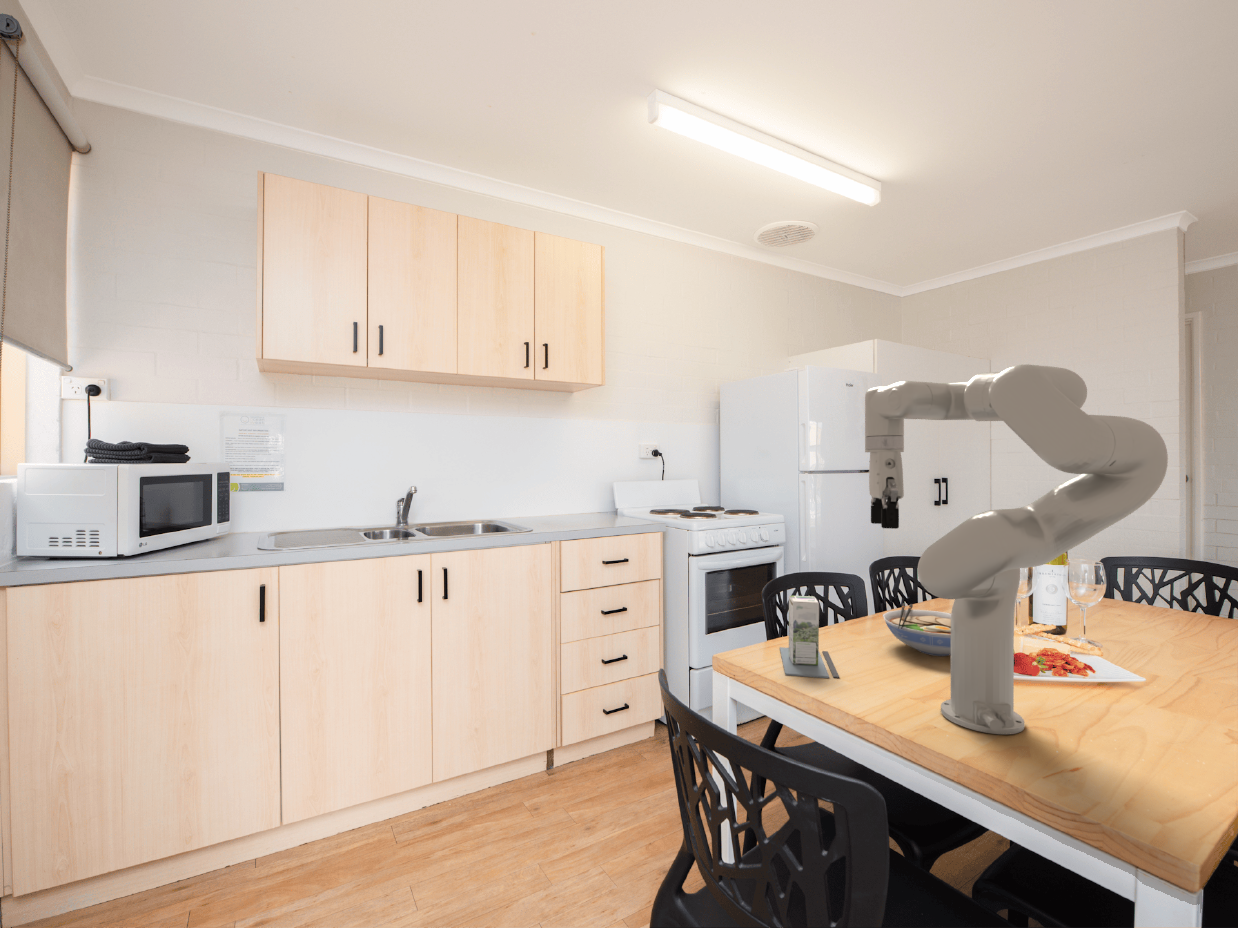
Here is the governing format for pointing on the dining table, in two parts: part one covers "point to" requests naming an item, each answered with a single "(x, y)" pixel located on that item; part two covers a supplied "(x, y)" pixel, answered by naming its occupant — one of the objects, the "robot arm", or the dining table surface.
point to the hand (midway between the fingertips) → (884, 525)
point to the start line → (830, 664)
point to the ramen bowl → (921, 629)
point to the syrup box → (803, 630)
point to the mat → (803, 667)
